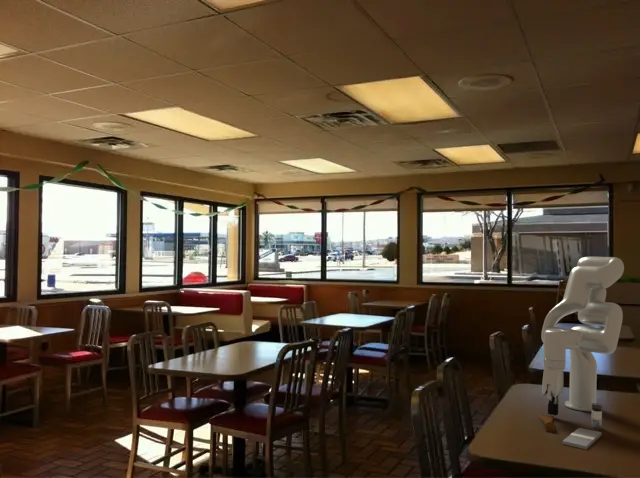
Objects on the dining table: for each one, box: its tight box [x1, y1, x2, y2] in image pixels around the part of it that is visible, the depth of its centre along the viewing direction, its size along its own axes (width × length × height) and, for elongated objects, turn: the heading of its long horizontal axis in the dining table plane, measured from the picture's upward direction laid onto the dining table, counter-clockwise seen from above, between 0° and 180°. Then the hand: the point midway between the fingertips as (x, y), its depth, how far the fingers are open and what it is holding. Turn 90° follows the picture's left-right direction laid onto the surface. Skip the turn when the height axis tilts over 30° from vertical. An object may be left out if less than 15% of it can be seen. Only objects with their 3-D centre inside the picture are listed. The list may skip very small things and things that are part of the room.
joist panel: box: [562, 427, 602, 450], centre depth 185 cm, size 18×7×1 cm, turn 140°
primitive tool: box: [537, 414, 557, 433], centre depth 202 cm, size 19×6×4 cm, turn 166°
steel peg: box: [590, 402, 603, 430], centre depth 198 cm, size 3×3×8 cm
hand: (553, 414), depth 209 cm, fingers closed
